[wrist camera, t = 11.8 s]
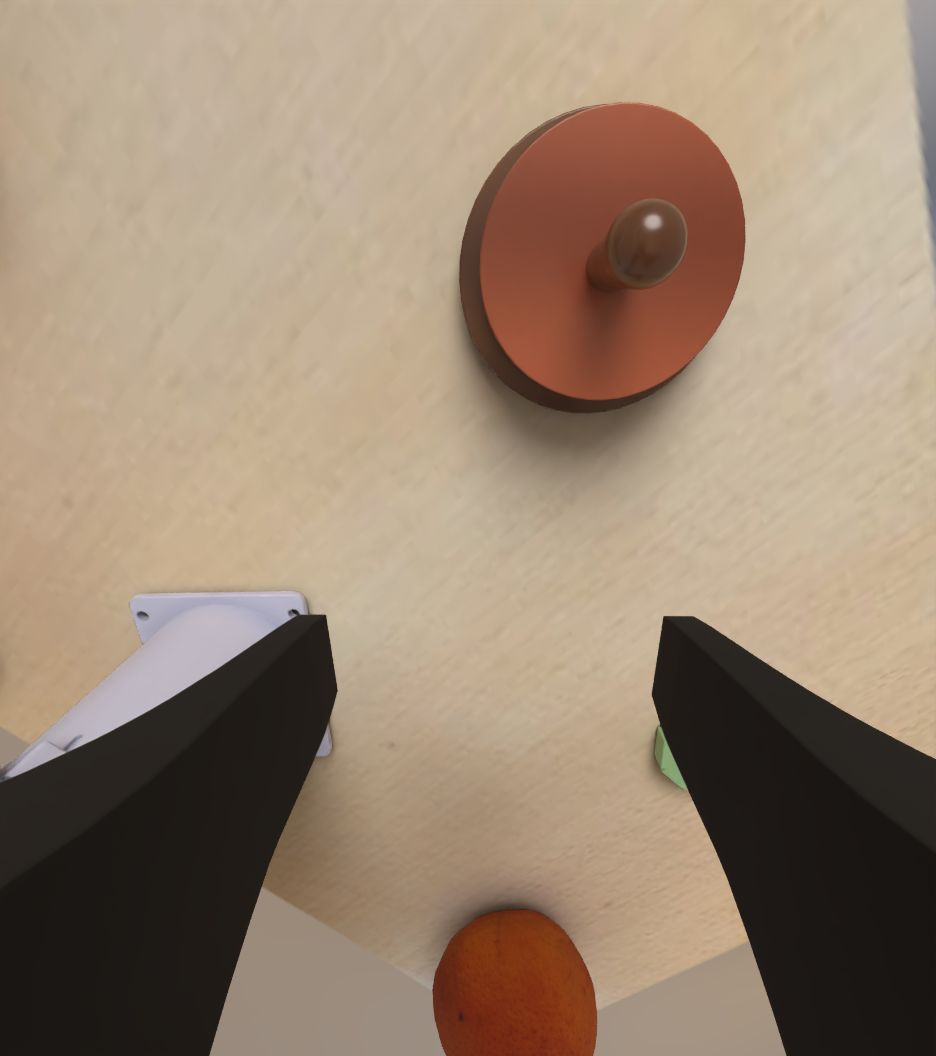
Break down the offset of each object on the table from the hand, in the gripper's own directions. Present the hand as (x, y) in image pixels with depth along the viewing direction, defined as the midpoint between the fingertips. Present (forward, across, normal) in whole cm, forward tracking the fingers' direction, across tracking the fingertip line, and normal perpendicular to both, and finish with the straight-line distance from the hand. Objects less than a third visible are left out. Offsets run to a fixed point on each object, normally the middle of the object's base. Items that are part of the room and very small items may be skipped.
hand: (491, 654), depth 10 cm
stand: (+10, -3, -8) cm, 14 cm away
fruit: (+10, -1, +28) cm, 30 cm away
